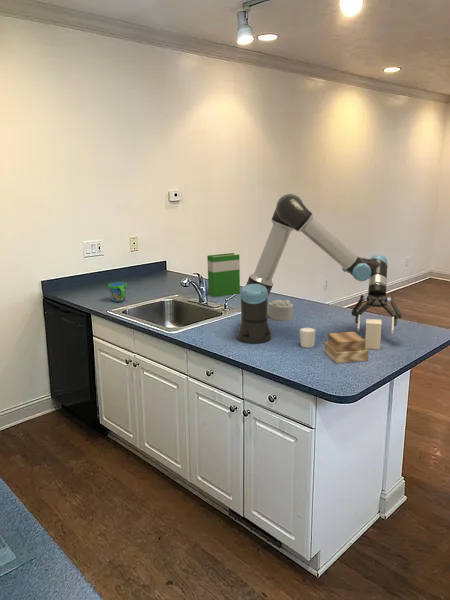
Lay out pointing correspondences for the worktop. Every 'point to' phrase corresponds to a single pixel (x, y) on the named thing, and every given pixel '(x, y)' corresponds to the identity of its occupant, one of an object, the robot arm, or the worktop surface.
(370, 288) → the robot arm
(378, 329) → the cream brick
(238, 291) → the hardback book
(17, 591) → the worktop surface
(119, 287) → the snack cup
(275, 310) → the lumpy-topped squat cylinder
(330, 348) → the block tower
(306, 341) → the shot glass
